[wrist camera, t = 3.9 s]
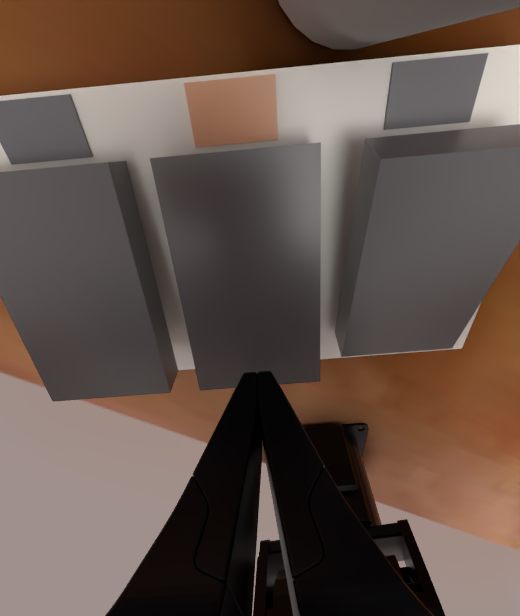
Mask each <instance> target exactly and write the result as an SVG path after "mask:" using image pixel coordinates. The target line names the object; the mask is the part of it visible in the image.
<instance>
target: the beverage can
mask: <svg viewBox="0 0 520 616" xmlns="http://www.w3.org/2000/svg"><path fill="white" fill-rule="evenodd" d="M278 1H279V4H280V6H281V8H282V9H283V10H284V12H285V13H286V15H287V16H288V18H289V19H290V20H291V22H292V23H293V25H294V26H295V27H296V28H297V29H298V30H299V31H300V32H302V33H303V34H304V35H305V36H307V37H308V38H309V39H310V40H311V41H313V42H315V43H317V44H320V45H323V46H326V47H328V48H331V49H352V50H355V49H359V48H363V47H366V46H370V45H374V44H378V43H382V42H386V41H390V40H394V39H398V38H402V37H405V36H409V35H413V34H417V33H421V32H425V31H429V30H433V29H437V28H441V27H444V26H448V25H452V24H456V23H460V22H464V21H468V20H472V19H476V18H480V17H484V16H487V15H491V14H495V13H499V12H503V11H507V10H511V9H515V8H519V7H520V0H278Z"/></svg>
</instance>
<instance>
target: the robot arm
mask: <svg viewBox="0 0 520 616" xmlns="http://www.w3.org/2000/svg"><path fill="white" fill-rule="evenodd" d="M359 427H364V428H363V429H358V428H359ZM367 433H368V425H367V424H365V423H354V424H340V425H339V424H336V425H322V426H309V427H303V426H302V424H301V423H300V421H299V419H298V417H297V416H296V414H295V412H294V410H293V408H292V407H291V405H290V403H289V401H288V400H287V398H286V396H285V394H284V393H283V391H282V389H281V387H280V386H279V384H278V382H277V380H276V378H275V377H274V375H273V373H272V372H271V371H259V372H258V374H257V372H245V373H243V375H242V377H241V379H240V381H239V383H238V385H237V387H236V389H235V391H234V393H233V395H232V397H231V399H230V401H229V403H228V405H227V407H226V409H225V411H224V413H223V415H222V417H221V419H220V421H219V423H218V425H217V427H216V429H215V431H214V433H213V435H212V437H211V439H210V441H209V443H208V445H207V447H206V449H205V451H204V453H203V455H202V456H201V459H200V460H199V463H198V464H197V467H196V468H195V471H194V473H193V476H192V477H191V478H190V480H189V482H188V484H187V486H186V488H185V490H184V492H183V494H182V496H181V498H180V499H179V501H178V503H177V505H176V507H175V509H174V511H173V512H172V514H171V516H170V517H169V519H168V521H167V522H166V524H165V526H164V527H163V529H162V531H161V532H160V534H159V535H158V537H157V539H156V540H155V542H154V543H153V545H152V546H151V548H150V550H149V551H148V553H147V554H146V556H145V558H144V559H143V561H142V562H141V564H140V565H139V567H138V569H137V570H136V572H135V573H134V575H133V576H132V578H131V580H130V581H129V583H128V584H127V586H126V588H125V589H124V591H123V592H122V593H121V595H120V597H119V598H118V599H117V601H116V602H115V604H114V605H113V606H112V608H111V609H110V610H109V612H108V613H107V614H106V616H252V602H253V587H254V572H255V556H256V541H257V524H258V509H259V493H260V478H261V463H262V440H263V447H264V453H265V459H266V465H267V470H268V476H269V481H270V487H271V493H272V498H273V504H274V510H275V516H276V521H277V527H278V533H279V538H280V540H276V541H270V540H264V541H261V542H260V552H259V557H258V559H257V572H256V585H255V598H254V611H253V616H445V614H444V611H443V609H442V606H441V604H440V601H439V599H438V596H437V594H436V591H435V589H434V586H433V584H432V581H431V578H430V576H429V573H428V571H427V569H426V566H425V564H424V561H423V558H422V556H421V553H420V551H419V548H418V546H417V543H416V541H415V538H414V536H413V533H412V531H411V528H410V526H409V523H408V521H407V519H406V520H400V521H397V523H392V524H385V525H382V524H381V521H380V518H379V514H378V511H377V507H376V504H375V501H374V497H373V494H372V490H371V487H370V484H369V480H368V477H367V474H366V470H365V467H364V464H363V460H362V455H363V451H364V446H365V442H366V437H367ZM403 560H404V561H405V564H406V567H403V568H400V567H399V564H398V561H403Z"/></svg>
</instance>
